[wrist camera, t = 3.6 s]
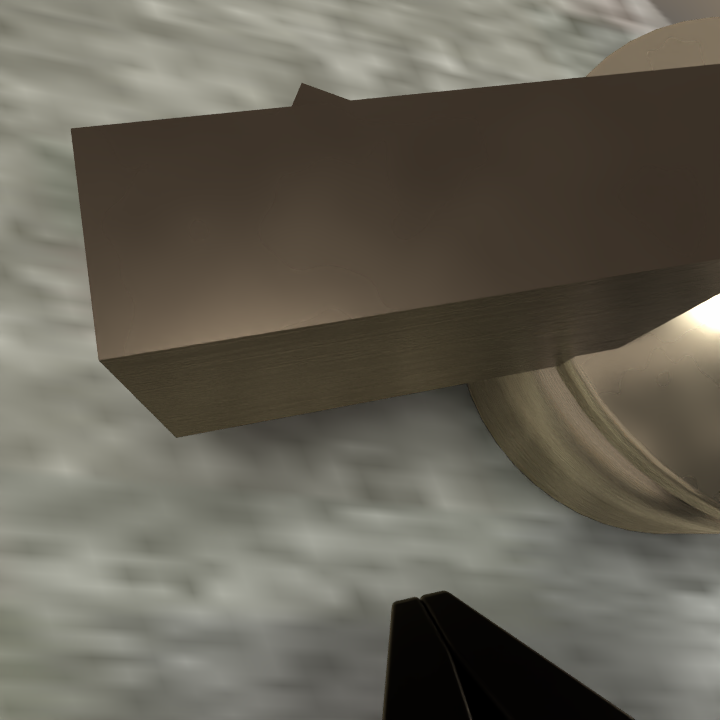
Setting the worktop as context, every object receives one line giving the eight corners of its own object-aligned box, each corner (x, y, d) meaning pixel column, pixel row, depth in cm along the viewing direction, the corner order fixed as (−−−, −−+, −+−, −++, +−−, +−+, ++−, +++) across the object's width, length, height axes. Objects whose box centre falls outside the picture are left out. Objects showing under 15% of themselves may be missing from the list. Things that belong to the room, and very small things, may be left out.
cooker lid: (887, 26, 19) (1168, -207, 13) (1104, 476, 16) (1606, 441, 10) (127, 97, 15) (32, -190, 9) (217, 712, 12) (162, 889, 6)
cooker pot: (829, 241, 24) (1002, 150, 18) (792, 588, 20) (995, 609, 15) (343, 63, 23) (365, -90, 18) (211, 389, 20) (186, 329, 14)
